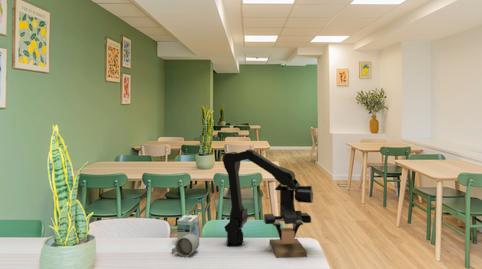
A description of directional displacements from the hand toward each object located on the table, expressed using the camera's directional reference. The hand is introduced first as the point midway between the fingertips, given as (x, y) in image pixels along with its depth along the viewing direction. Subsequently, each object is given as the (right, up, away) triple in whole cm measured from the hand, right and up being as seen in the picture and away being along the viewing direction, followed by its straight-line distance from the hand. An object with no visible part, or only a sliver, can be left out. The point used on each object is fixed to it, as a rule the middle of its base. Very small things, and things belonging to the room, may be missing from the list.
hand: (287, 239), depth 150 cm
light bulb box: (-42, -5, +12) cm, 44 cm away
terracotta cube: (0, -1, 0) cm, 1 cm away
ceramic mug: (-41, -5, -3) cm, 42 cm away
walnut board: (0, -5, 0) cm, 5 cm away
